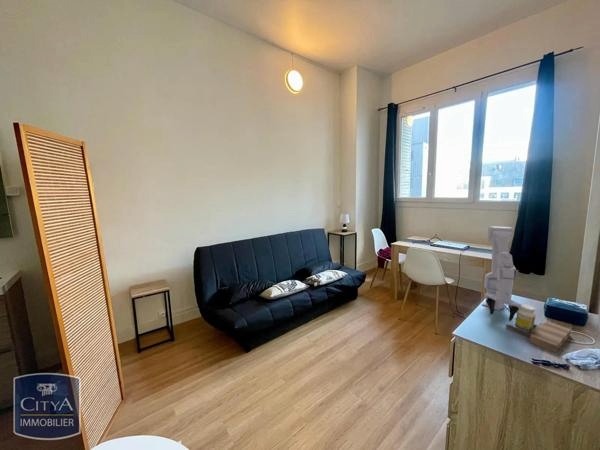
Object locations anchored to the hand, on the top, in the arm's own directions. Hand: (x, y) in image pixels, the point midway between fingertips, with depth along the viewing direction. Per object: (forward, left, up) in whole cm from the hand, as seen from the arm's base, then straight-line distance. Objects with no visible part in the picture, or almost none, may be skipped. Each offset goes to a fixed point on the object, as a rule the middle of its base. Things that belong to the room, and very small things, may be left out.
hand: (501, 316), depth 121 cm
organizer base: (0, +13, -2) cm, 13 cm away
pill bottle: (0, +9, -2) cm, 9 cm away
